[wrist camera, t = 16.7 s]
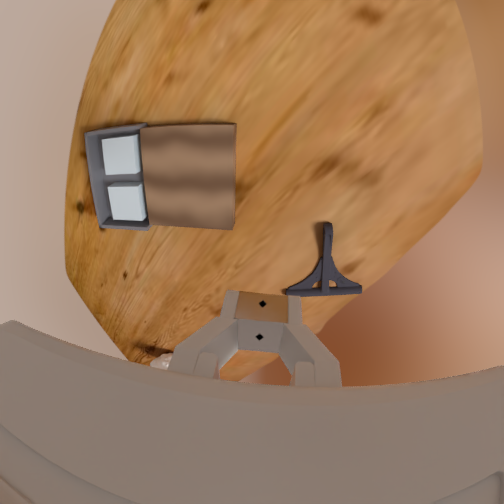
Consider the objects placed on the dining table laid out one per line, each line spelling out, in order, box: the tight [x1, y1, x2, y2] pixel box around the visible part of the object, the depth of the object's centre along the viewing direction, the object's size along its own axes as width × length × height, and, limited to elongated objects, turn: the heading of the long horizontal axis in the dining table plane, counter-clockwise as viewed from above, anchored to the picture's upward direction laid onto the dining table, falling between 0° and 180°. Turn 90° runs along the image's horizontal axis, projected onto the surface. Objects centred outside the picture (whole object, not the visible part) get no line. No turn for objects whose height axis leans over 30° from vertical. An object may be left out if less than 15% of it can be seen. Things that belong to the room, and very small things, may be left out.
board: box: [140, 123, 236, 230], centre depth 39 cm, size 16×14×2 cm
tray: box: [84, 123, 152, 231], centre depth 40 cm, size 17×10×4 cm, turn 178°
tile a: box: [102, 133, 143, 175], centre depth 38 cm, size 6×6×2 cm
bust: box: [150, 353, 173, 370], centre depth 63 cm, size 12×8×11 cm
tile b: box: [108, 182, 148, 221], centre depth 42 cm, size 6×6×2 cm
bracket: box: [286, 223, 362, 297], centre depth 46 cm, size 14×15×3 cm
